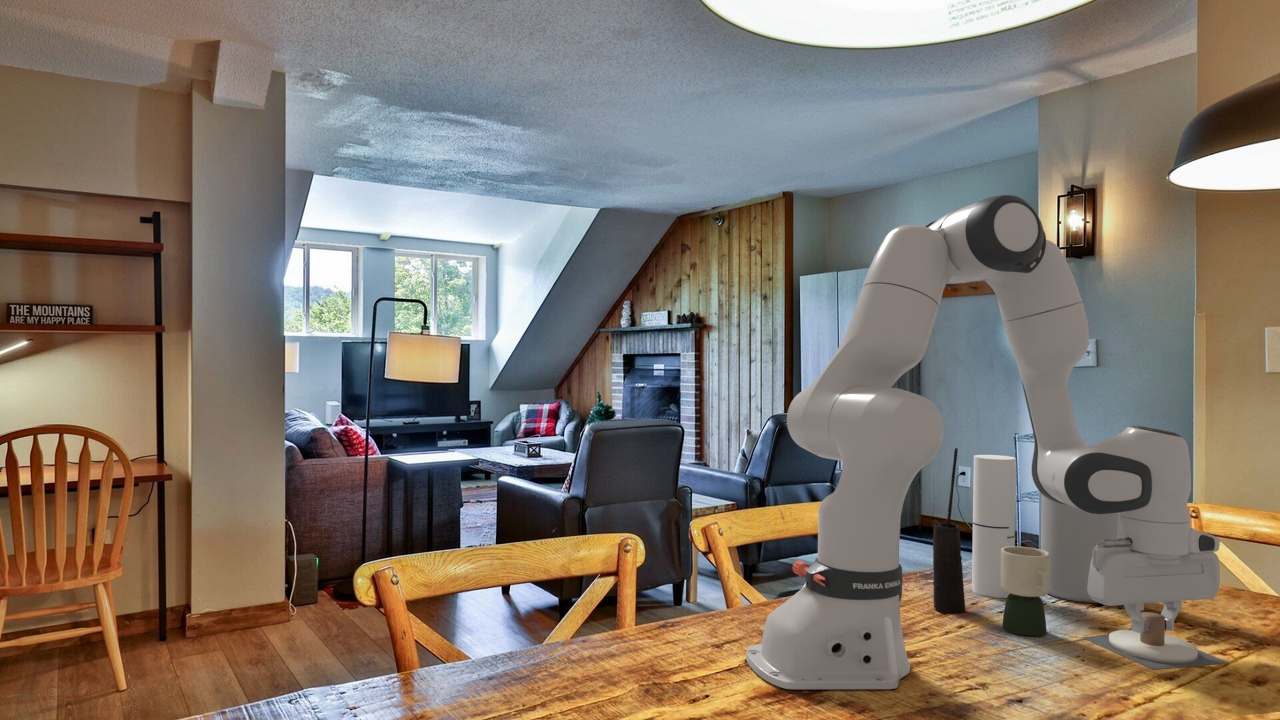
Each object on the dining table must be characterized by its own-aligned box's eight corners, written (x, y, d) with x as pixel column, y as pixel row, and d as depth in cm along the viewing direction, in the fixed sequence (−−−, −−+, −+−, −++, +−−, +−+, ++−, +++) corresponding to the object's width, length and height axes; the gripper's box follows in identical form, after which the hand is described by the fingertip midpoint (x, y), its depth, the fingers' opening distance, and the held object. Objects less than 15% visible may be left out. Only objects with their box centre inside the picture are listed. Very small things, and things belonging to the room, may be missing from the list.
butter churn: (903, 602, 142) (905, 443, 142) (951, 598, 144) (953, 442, 144) (934, 618, 133) (936, 449, 133) (984, 615, 135) (986, 448, 135)
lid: (1153, 666, 112) (1153, 630, 112) (1091, 639, 122) (1092, 606, 122) (1216, 660, 114) (1217, 625, 114) (1151, 634, 125) (1151, 602, 125)
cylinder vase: (1132, 604, 142) (1134, 463, 142) (1061, 603, 142) (1063, 462, 142) (1093, 584, 155) (1095, 454, 154) (1028, 583, 155) (1029, 454, 155)
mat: (1153, 673, 111) (1153, 669, 111) (1081, 641, 123) (1081, 637, 123) (1229, 666, 113) (1229, 662, 113) (1151, 635, 126) (1151, 631, 126)
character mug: (1068, 645, 121) (1069, 559, 121) (1026, 647, 120) (1027, 560, 120) (1022, 621, 132) (1023, 542, 132) (982, 623, 131) (984, 543, 131)
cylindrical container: (964, 586, 152) (966, 454, 152) (1000, 586, 153) (1002, 454, 153) (984, 598, 145) (986, 459, 145) (1022, 597, 146) (1024, 459, 146)
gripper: (1111, 544, 113) (1109, 643, 113) (1229, 539, 117) (1227, 633, 118) (1077, 534, 119) (1076, 628, 119) (1190, 530, 124) (1189, 619, 124)
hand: (1152, 630), depth 118 cm, fingers closed on lid, 3 cm apart
